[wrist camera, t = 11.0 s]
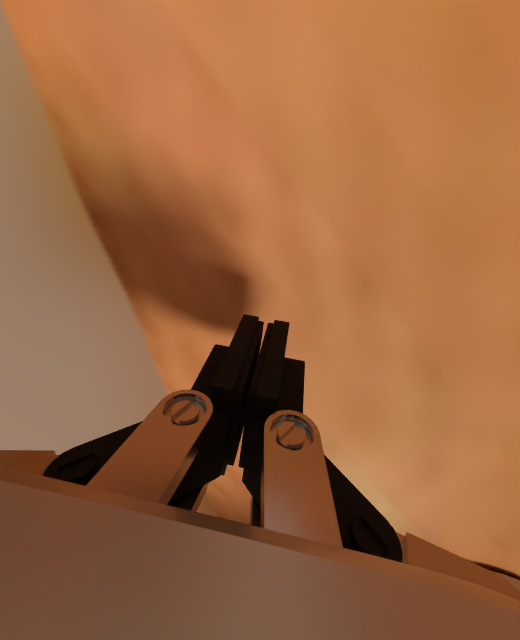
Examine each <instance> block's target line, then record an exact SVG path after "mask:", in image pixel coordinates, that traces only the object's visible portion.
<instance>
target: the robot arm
mask: <svg viewBox="0 0 520 640" xmlns="http://www.w3.org/2000/svg"><path fill="white" fill-rule="evenodd" d="M263 325H264V322H262V321H259V317H256V316H251V315H245V314H244V315H243V317H242V320H241V322H240V324H239V326H238V328H237V331H236V333H235V335H234V337H233V339H232V342H231V344H230V346H229V347H227V346H222V345H217V344H216V345H215V346H214V347H213V349H212V351H211V353H210V355H209V357H208V359H207V360H206V362H205V364H204V366H203V368H202V370H201V372H200V373H199V375H198V377H197V379H196V381H195V383H194V385H193V386H192V388H191V390H180V391H176V392H173V393H171V394H169V395H167V396H166V397H165V398H163V399H162V400H161V401H160V402H159V403H158V405H157V406H156V407H155V408H154V409H153V410H152V411H151V413H150V414H149V415H148V416H147V417H146V418H145V419H144V420H143V421H142V422H139V423H137V424H134V425H132V426H129V427H126V428H124V429H121V430H118V431H116V432H113V433H110V434H108V435H105V436H103V437H100V438H97V439H95V440H92V441H89V442H87V443H84V444H82V445H79V446H77V447H74V448H72V449H70V450H68V451H66V452H64V453H62V454H61V455H56V454H55V451H31V450H29V451H28V450H26V451H25V450H23V451H19V450H0V640H520V580H518V579H516V578H513V577H510V576H508V575H505V574H502V573H498V572H494V571H490V570H487V569H485V568H483V567H481V566H479V565H477V564H474V563H472V562H470V561H468V560H466V559H464V558H462V557H459V556H457V555H455V554H453V553H451V552H449V551H446V550H444V549H442V548H440V547H438V546H436V545H434V544H431V543H429V542H427V541H425V540H423V539H421V538H418V537H416V536H414V535H412V534H410V533H408V532H407V533H406V535H405V536H403V535H401V534H399V533H397V532H395V530H394V529H393V527H392V526H391V525H390V523H389V522H388V521H387V520H386V519H385V517H384V516H383V515H382V514H381V513H380V512H379V511H378V510H377V509H376V508H375V507H374V506H373V505H372V504H371V503H370V502H369V501H368V500H367V499H366V498H365V497H364V496H363V495H362V494H361V492H360V491H359V490H358V489H357V488H356V487H355V486H354V485H353V484H352V483H351V482H350V481H349V480H348V479H347V478H346V477H345V476H344V475H343V474H342V473H341V472H340V471H339V470H338V469H337V467H336V466H335V465H334V464H333V463H332V462H331V461H330V460H329V459H328V458H327V457H326V456H325V455H324V452H323V447H322V442H321V438H320V433H319V431H318V428H317V426H316V425H315V423H314V422H313V421H312V420H311V419H310V418H308V417H307V416H306V415H304V414H303V395H304V372H305V362H304V361H300V360H295V359H290V358H285V357H284V356H285V349H286V342H287V336H288V329H289V322H284V321H278V320H275V321H274V324H273V323H268V325H267V329H266V333H265V336H264V340H263V343H262V347H261V350H260V346H261V339H262V332H263ZM259 353H260V354H259ZM243 428H244V431H243ZM242 432H243V438H242V445H241V453H240V460H239V467H241V468H244V471H243V478H242V481H243V483H244V484H245V486H246V487H247V489H248V491H249V492H250V494H251V495H252V498H251V508H250V525H248V524H243V523H239V522H235V521H231V520H227V519H223V518H218V517H214V516H210V515H206V514H202V513H198V512H196V511H197V509H198V507H199V505H200V503H201V501H202V499H203V497H204V495H205V493H206V490H207V487H208V483H209V482H210V481H212V480H214V479H216V478H217V477H219V476H220V475H224V474H225V470H226V467H227V464H228V465H232V466H233V465H234V462H235V458H236V454H237V451H238V447H239V443H240V439H241V435H242Z"/></svg>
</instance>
